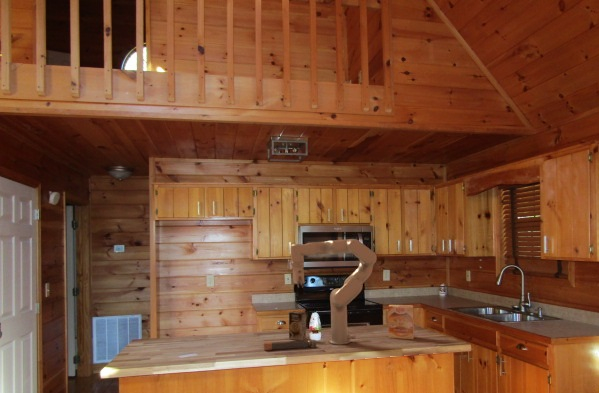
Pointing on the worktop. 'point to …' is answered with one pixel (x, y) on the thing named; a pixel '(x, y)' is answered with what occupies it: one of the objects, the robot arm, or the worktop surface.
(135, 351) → the worktop surface
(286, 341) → the arm
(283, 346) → the tongs moving arm
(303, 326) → the coffee box
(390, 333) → the coffeecake box
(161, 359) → the worktop surface
